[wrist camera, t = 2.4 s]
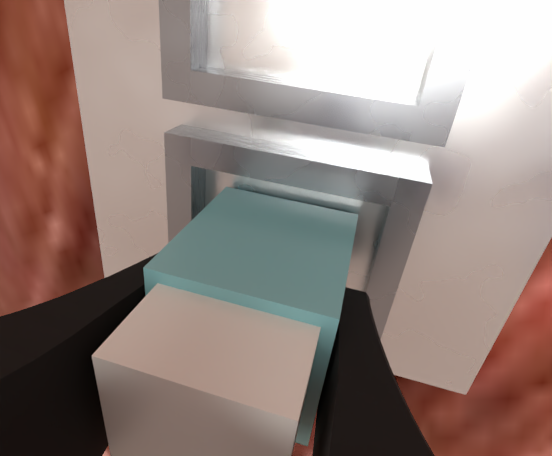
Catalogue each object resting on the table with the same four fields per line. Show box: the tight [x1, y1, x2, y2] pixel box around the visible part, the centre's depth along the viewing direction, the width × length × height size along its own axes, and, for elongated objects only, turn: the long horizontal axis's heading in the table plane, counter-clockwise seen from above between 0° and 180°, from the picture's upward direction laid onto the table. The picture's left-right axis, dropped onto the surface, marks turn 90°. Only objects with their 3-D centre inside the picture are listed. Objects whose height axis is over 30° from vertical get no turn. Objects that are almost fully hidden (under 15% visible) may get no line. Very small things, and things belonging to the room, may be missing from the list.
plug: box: [92, 187, 358, 456], centre depth 9 cm, size 4×4×6 cm
